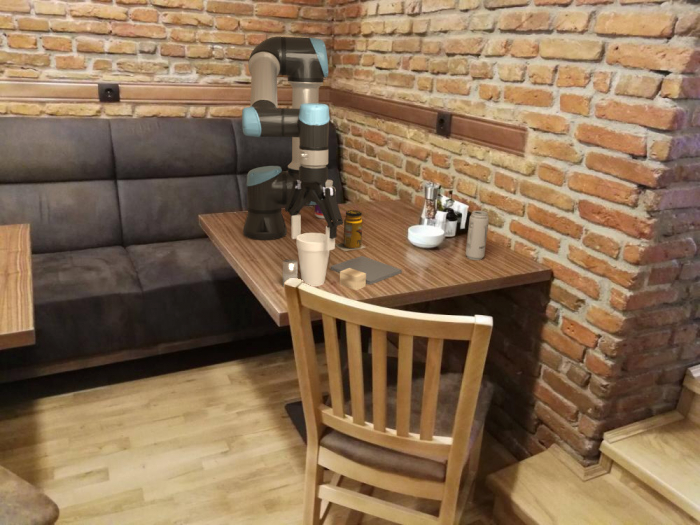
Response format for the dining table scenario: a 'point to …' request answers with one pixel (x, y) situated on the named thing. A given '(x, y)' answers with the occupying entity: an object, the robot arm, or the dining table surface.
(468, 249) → the energy drink can
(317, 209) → the pill bottle
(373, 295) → the dining table surface
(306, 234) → the foam cup
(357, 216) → the condiment
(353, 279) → the beech block
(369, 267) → the slate board
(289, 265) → the metal shaker
